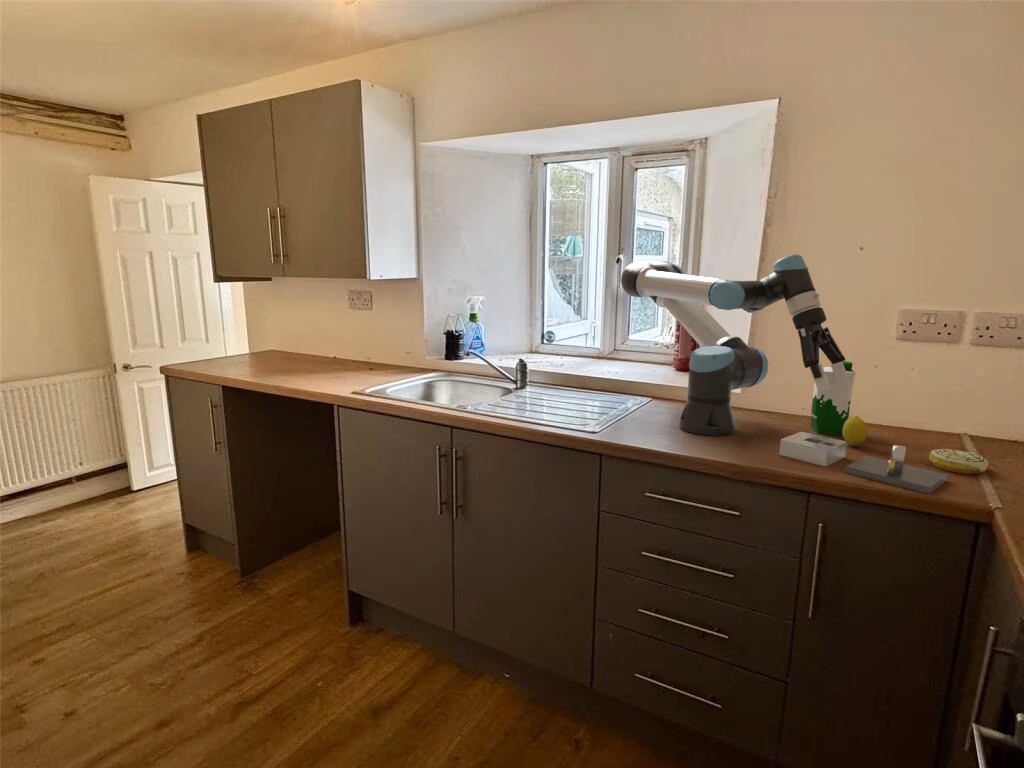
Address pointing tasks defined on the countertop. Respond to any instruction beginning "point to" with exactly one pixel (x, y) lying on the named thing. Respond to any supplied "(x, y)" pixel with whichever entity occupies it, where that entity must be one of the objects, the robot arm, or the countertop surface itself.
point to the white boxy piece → (813, 448)
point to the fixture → (897, 472)
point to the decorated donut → (958, 461)
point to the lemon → (854, 430)
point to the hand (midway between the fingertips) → (835, 388)
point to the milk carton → (832, 403)
